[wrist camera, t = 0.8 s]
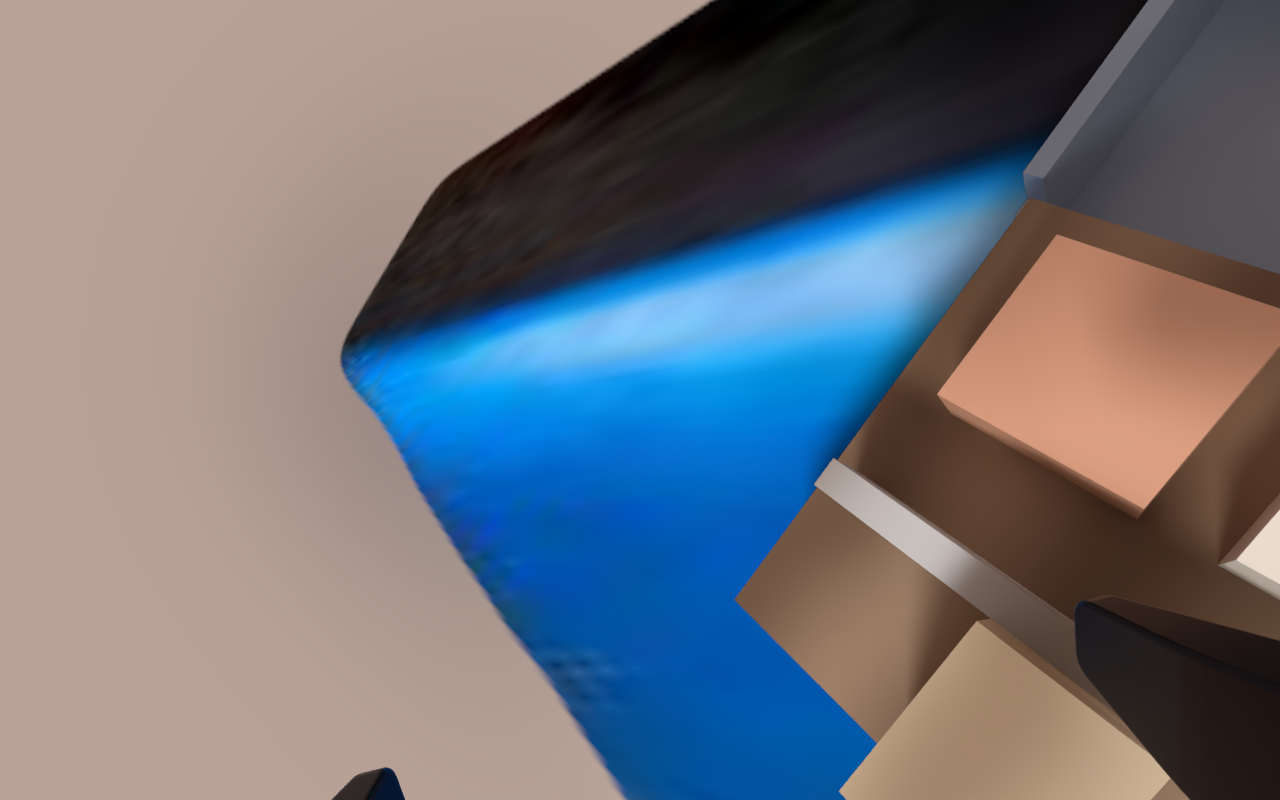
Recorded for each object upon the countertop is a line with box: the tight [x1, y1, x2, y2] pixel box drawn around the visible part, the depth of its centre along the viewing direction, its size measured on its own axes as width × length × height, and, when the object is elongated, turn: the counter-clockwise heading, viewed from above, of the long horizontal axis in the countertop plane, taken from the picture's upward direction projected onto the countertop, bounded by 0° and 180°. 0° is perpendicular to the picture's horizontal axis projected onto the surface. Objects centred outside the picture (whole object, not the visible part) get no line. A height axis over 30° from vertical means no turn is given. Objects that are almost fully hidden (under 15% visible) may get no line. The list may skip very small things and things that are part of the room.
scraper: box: [814, 458, 1170, 800], centre depth 12 cm, size 12×5×5 cm, turn 50°
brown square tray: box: [735, 198, 1280, 800], centre depth 15 cm, size 14×14×5 cm
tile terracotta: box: [937, 235, 1280, 520], centre depth 14 cm, size 4×4×2 cm
